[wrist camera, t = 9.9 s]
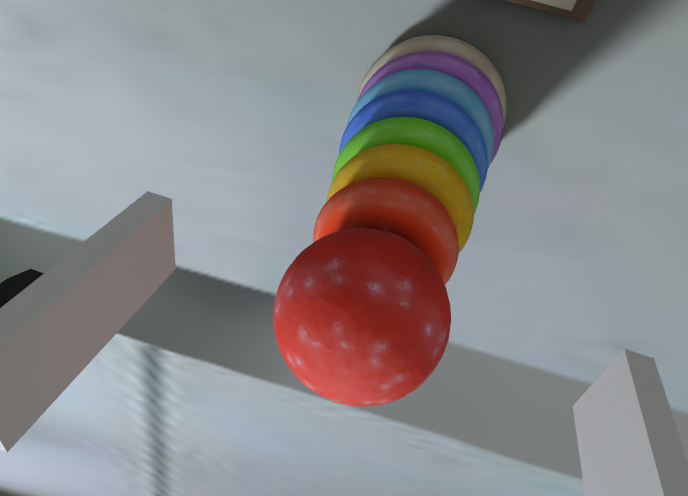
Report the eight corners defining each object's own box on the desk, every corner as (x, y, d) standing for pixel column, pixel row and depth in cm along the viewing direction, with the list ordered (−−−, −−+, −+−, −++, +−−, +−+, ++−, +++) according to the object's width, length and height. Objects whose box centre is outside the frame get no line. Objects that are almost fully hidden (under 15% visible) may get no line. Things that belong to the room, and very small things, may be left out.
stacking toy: (341, 57, 25) (132, 262, 11) (492, 8, 22) (480, 206, 8) (383, 183, 29) (270, 459, 15) (516, 157, 26) (538, 475, 12)
